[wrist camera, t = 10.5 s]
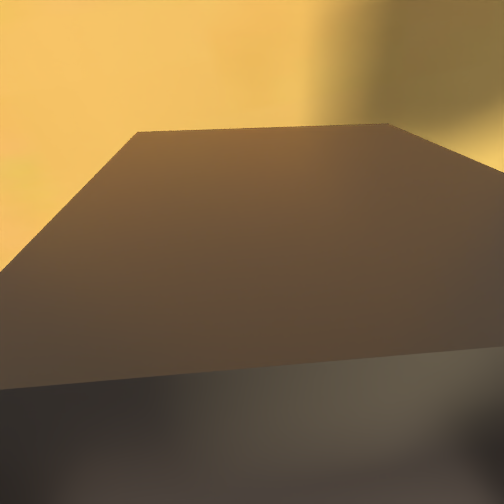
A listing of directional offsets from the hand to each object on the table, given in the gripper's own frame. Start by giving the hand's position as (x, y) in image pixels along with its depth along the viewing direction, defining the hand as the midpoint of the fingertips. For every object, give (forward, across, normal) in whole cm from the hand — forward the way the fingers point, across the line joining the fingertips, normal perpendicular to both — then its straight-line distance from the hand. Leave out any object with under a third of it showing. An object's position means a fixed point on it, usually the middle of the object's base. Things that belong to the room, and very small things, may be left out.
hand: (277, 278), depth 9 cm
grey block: (+3, 0, 0) cm, 3 cm away
